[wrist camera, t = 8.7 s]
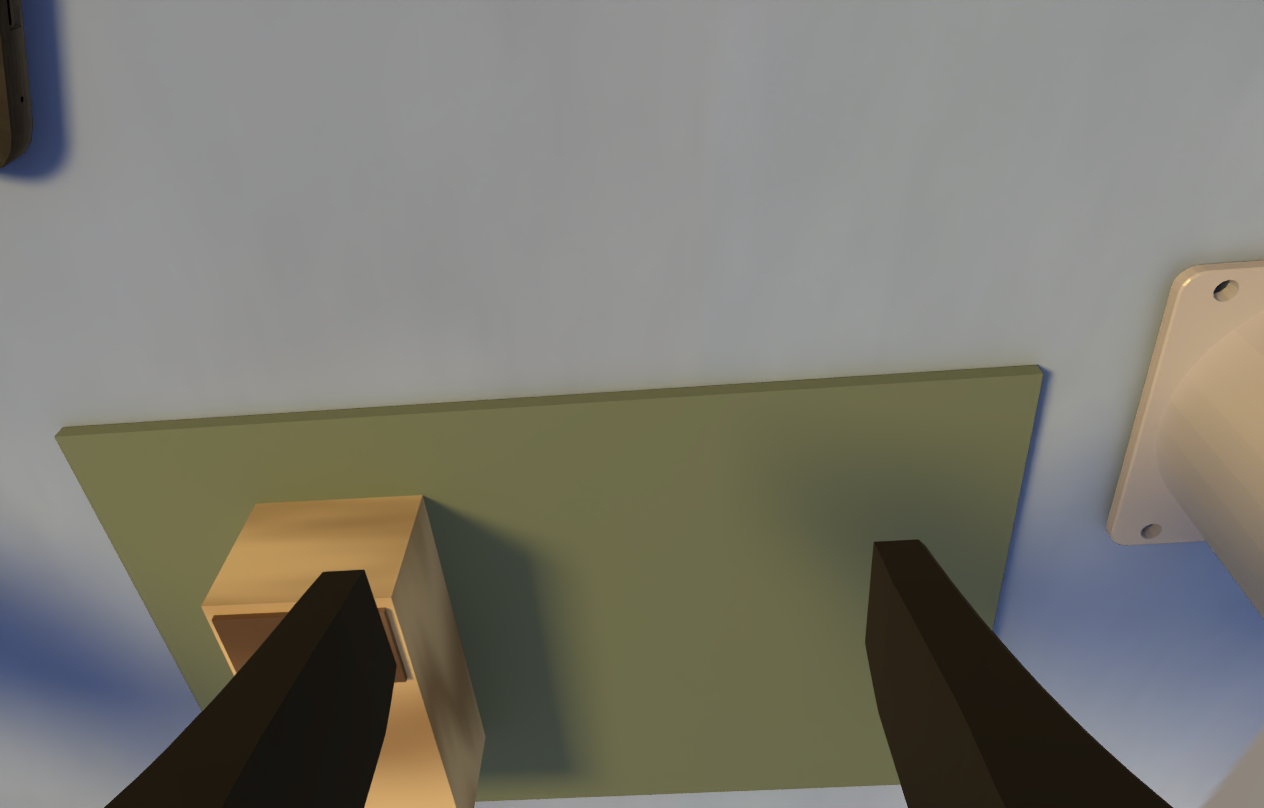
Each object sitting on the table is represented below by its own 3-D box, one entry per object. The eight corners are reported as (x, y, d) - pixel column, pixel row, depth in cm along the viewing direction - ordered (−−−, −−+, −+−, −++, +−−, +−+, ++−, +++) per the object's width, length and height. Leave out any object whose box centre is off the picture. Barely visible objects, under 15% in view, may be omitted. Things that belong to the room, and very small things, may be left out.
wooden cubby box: (485, 736, 29) (467, 849, 26) (349, 741, 30) (315, 855, 26) (422, 495, 24) (389, 602, 21) (255, 503, 24) (198, 610, 21)
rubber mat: (1037, 365, 22) (1043, 374, 22) (958, 770, 31) (962, 781, 30) (62, 427, 23) (54, 437, 23) (259, 799, 32) (255, 810, 32)
